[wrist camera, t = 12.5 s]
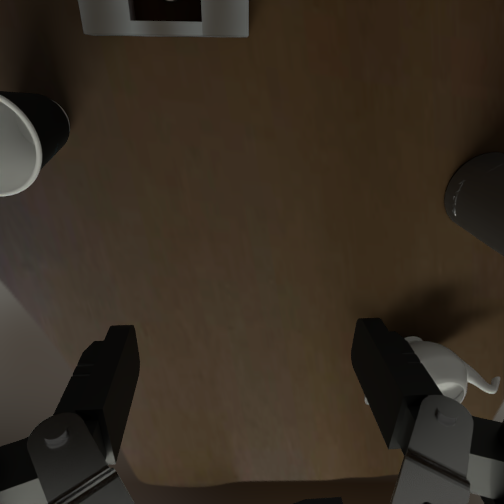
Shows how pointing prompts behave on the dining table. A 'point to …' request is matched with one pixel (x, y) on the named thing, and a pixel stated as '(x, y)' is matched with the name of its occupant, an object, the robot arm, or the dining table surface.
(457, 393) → the teapot
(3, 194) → the dixie cup
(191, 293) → the dining table surface
